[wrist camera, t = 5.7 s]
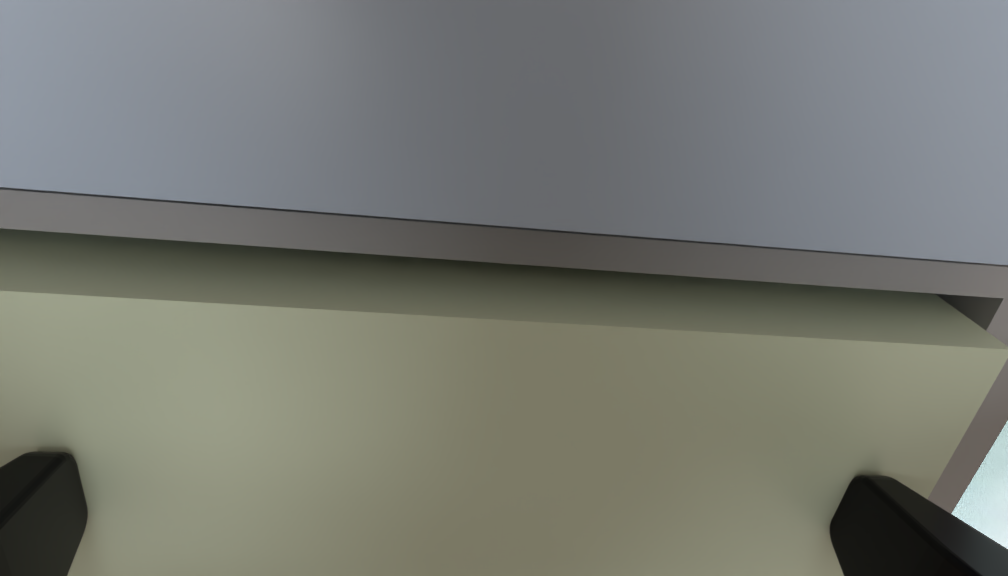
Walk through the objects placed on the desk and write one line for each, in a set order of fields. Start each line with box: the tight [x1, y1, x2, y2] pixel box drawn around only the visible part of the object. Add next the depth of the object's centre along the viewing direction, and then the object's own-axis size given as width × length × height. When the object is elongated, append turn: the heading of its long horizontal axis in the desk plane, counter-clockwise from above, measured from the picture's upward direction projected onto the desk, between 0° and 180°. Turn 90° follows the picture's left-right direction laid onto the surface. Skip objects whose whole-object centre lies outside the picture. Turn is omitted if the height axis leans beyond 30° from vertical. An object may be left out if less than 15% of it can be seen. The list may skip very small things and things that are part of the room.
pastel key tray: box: [0, 187, 1008, 514], centre depth 11 cm, size 14×23×4 cm, turn 173°
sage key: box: [0, 228, 1008, 576], centre depth 9 cm, size 11×5×2 cm, turn 83°
